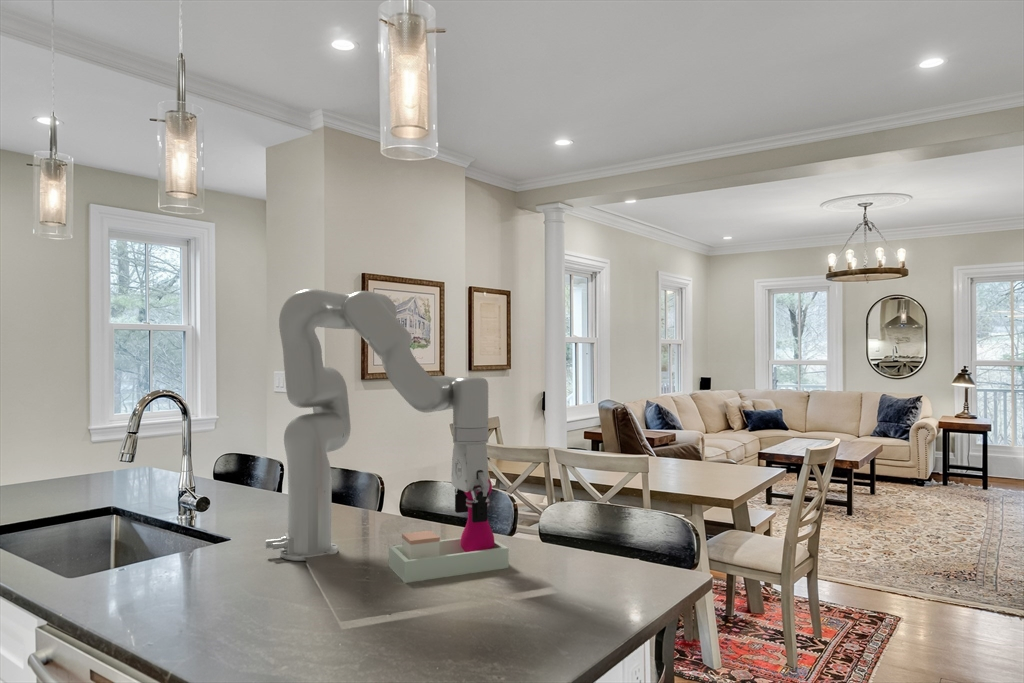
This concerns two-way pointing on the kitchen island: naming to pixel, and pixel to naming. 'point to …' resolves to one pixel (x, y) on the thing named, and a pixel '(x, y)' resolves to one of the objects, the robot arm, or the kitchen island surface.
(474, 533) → the pepper mill
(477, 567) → the tray
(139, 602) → the kitchen island surface
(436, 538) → the box
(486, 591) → the kitchen island surface
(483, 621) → the kitchen island surface
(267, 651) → the kitchen island surface
